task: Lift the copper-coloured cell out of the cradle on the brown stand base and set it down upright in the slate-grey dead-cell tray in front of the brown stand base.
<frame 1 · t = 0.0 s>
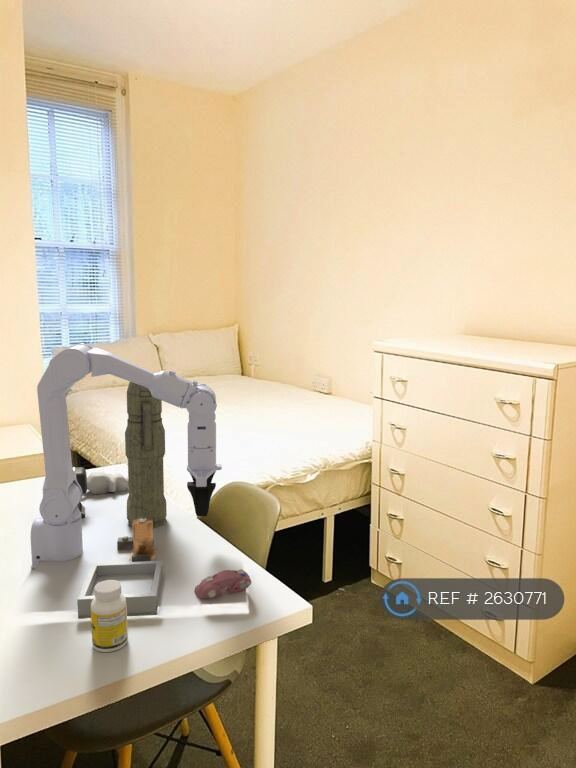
hand: (202, 508, 123), 10 cm above the table, fingers open, 7 cm apart
dead-cell tray: (123, 596, 108), on the table
brown stand base: (143, 560, 122), on the table
supplement bottle: (110, 644, 94), on the table
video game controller: (223, 599, 108), on the table
thermos: (147, 527, 138), on the table
cell: (143, 554, 122), point 1 cm above the table, touching brown stand base
battery charger: (80, 515, 145), on the table
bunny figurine: (100, 492, 161), on the table
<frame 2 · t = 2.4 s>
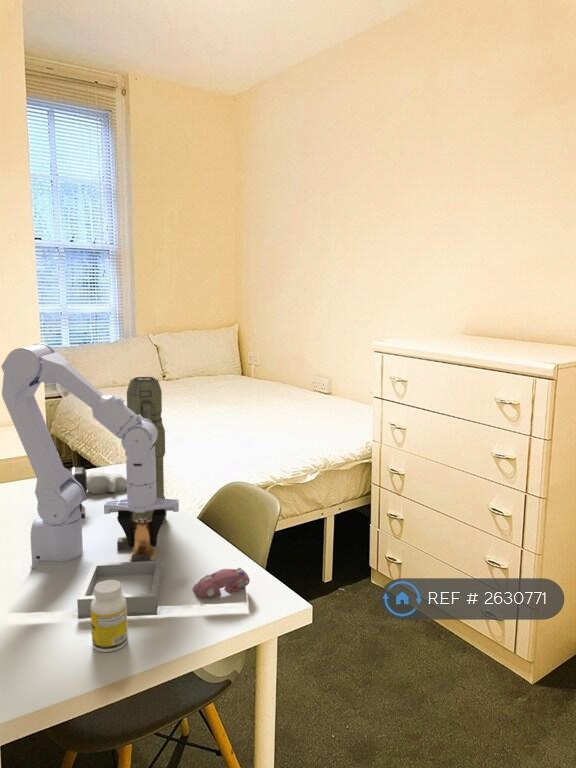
hand: (142, 545, 121), 3 cm above the table, fingers closed on cell, 4 cm apart
cell: (143, 554, 122), point 1 cm above the table, touching brown stand base, gripper
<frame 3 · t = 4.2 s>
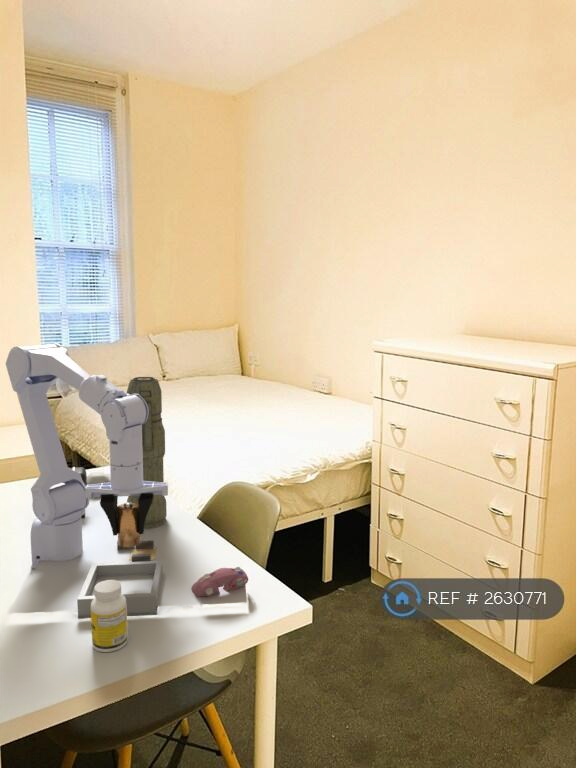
hand: (128, 532, 110), 10 cm above the table, fingers closed on cell, 4 cm apart
cell: (129, 542, 111), point 8 cm above the table, touching gripper
when the fingers open (5 cm above the table, at t = 6.0 s): cell drops 2 cm, resting on dead-cell tray.
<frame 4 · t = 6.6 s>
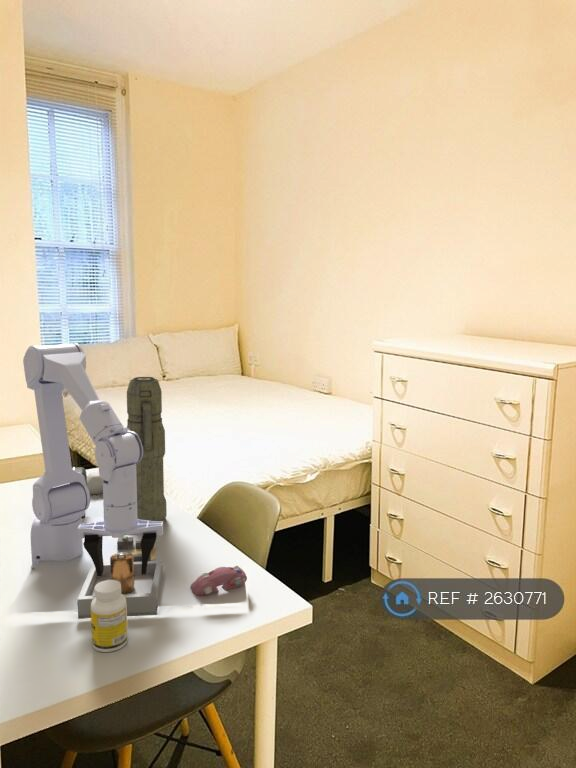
hand: (122, 573, 107), 5 cm above the table, fingers open, 7 cm apart
cell: (123, 593, 108), point 1 cm above the table, touching dead-cell tray
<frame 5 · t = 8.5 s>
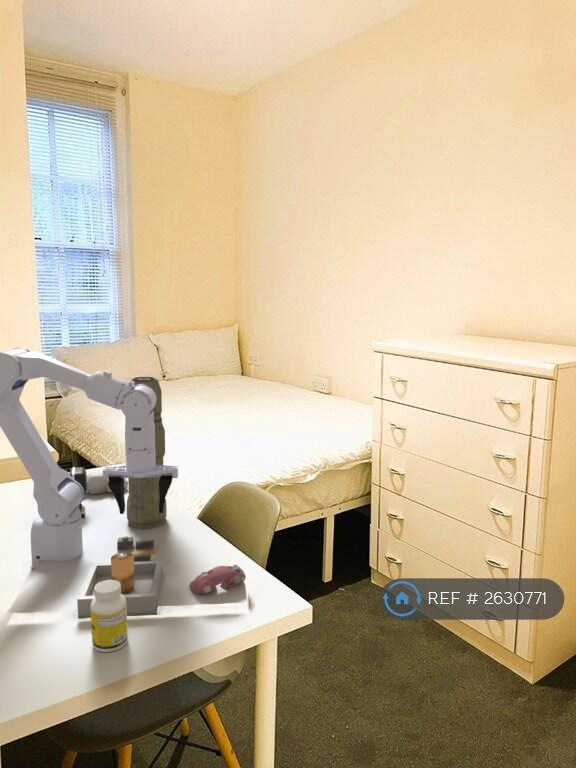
hand: (142, 511, 120), 10 cm above the table, fingers open, 7 cm apart
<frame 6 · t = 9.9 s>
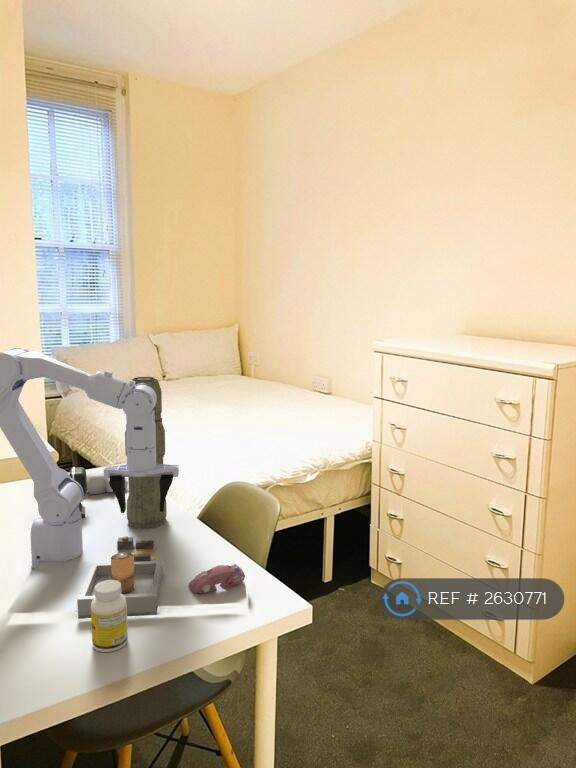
hand: (142, 510, 121), 10 cm above the table, fingers open, 7 cm apart
at the end: cell inside the target area on the dead-cell tray (0.1 cm from its centre), point 0.5 cm above the dead-cell tray's base; cell tilted 1°; the gripper is holding nothing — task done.
